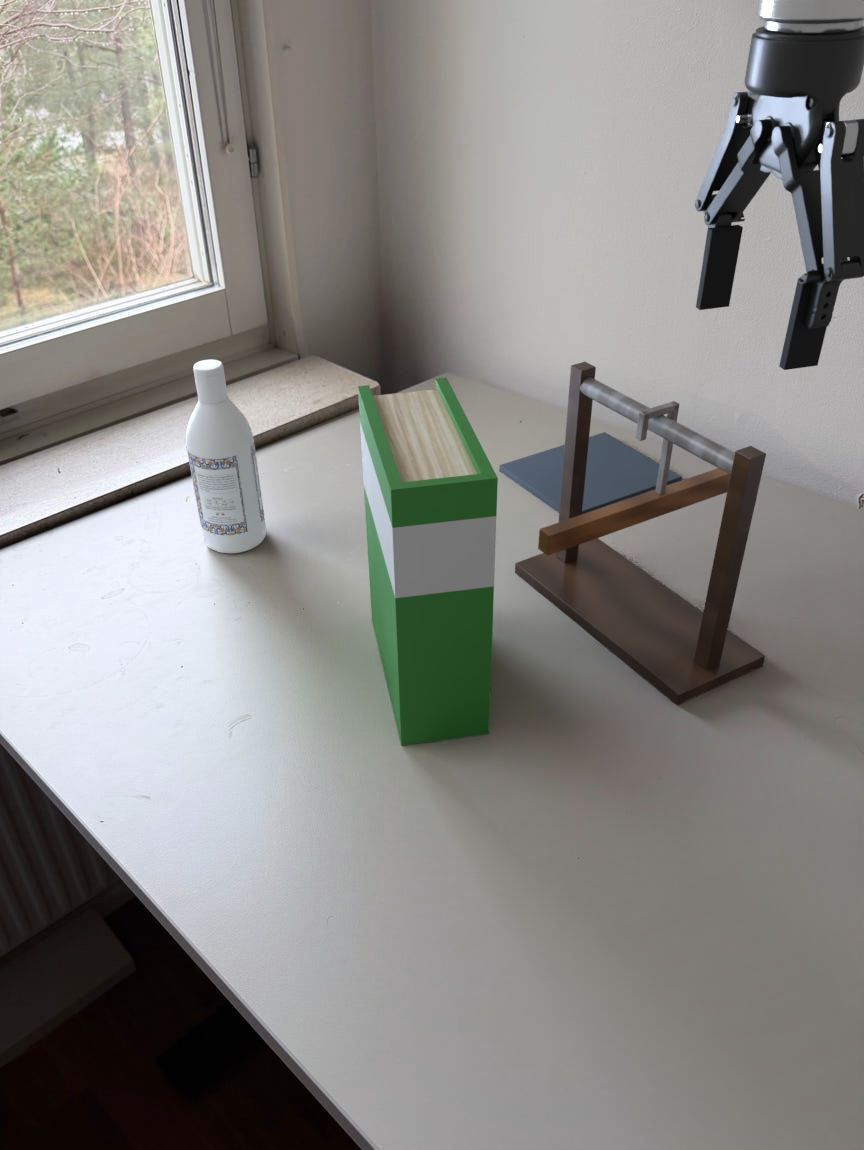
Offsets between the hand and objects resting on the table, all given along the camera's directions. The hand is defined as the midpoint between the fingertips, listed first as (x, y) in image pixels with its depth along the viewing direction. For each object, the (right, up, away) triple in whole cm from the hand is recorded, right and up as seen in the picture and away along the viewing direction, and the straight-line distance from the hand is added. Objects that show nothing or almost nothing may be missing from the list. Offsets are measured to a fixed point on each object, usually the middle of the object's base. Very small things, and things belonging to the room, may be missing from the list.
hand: (752, 335), depth 78 cm
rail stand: (-6, -22, +15) cm, 27 cm away
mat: (-5, -5, +37) cm, 38 cm away
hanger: (-7, -14, +8) cm, 17 cm away
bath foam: (-46, -13, +29) cm, 56 cm away
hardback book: (-26, -28, +10) cm, 39 cm away
